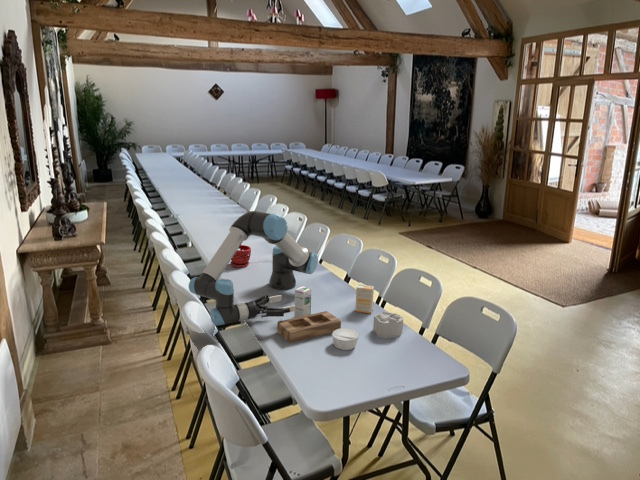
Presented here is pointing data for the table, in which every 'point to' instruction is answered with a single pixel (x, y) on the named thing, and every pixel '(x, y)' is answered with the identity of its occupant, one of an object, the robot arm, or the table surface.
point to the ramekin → (345, 338)
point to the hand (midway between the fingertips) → (288, 302)
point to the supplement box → (364, 298)
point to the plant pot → (241, 257)
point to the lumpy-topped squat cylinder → (388, 324)
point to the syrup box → (302, 301)
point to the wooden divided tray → (308, 326)
